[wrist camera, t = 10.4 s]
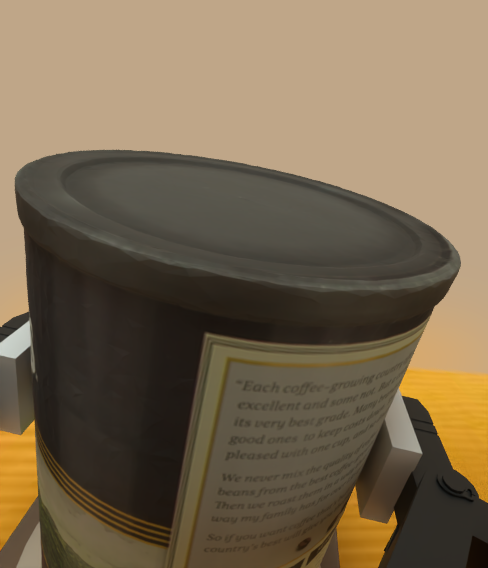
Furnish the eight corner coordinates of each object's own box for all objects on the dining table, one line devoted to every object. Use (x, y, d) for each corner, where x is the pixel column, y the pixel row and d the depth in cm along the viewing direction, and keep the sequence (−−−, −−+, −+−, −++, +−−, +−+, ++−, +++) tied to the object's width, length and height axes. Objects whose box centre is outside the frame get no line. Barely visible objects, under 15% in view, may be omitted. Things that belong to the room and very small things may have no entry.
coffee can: (-38, 682, 11) (-153, 186, 5) (109, 421, 21) (124, 138, 15) (319, 760, 11) (592, 340, 5) (303, 462, 20) (395, 193, 15)
